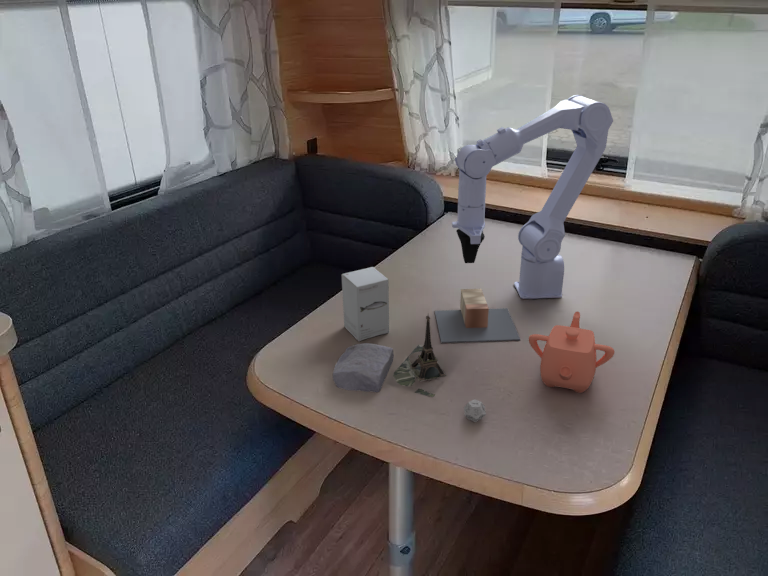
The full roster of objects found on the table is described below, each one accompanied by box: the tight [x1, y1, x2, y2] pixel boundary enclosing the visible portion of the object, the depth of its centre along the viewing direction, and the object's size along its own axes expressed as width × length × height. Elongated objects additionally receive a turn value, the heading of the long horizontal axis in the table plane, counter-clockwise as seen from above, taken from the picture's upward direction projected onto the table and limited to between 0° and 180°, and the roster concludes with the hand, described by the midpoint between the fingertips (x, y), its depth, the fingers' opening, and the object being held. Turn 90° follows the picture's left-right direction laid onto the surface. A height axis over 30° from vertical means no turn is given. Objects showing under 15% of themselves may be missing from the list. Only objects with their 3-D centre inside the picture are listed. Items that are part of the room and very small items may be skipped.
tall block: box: [459, 288, 490, 328], centre depth 134 cm, size 4×4×9 cm
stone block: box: [332, 342, 395, 393], centre depth 117 cm, size 12×5×10 cm
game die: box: [463, 398, 487, 423], centre depth 105 cm, size 4×4×3 cm
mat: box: [434, 307, 521, 344], centre depth 132 cm, size 16×13×1 cm
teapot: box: [528, 311, 616, 394], centre depth 112 cm, size 14×12×10 cm
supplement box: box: [341, 266, 390, 342], centre depth 129 cm, size 7×7×13 cm
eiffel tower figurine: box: [393, 314, 447, 398], centre depth 115 cm, size 15×10×13 cm
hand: (469, 261), depth 138 cm, fingers closed
